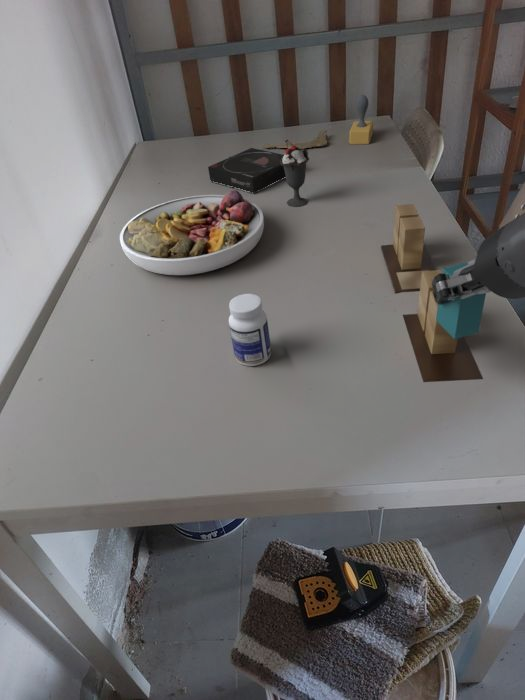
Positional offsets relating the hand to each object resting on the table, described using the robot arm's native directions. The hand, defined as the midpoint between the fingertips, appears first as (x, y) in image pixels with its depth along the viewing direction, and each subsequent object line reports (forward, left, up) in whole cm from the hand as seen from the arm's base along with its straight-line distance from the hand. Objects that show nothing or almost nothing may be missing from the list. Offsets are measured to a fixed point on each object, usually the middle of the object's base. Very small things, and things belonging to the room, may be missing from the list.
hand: (452, 293), depth 67 cm
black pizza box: (+31, -79, -12) cm, 86 cm away
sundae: (+20, -60, -12) cm, 64 cm away
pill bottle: (+28, -4, -12) cm, 30 cm away
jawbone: (+19, -103, -12) cm, 105 cm away
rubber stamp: (0, -102, -12) cm, 103 cm away
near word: (0, -4, -12) cm, 12 cm away
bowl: (+42, -42, -12) cm, 60 cm away
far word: (0, -27, -12) cm, 29 cm away
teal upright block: (-1, +2, -4) cm, 4 cm away
